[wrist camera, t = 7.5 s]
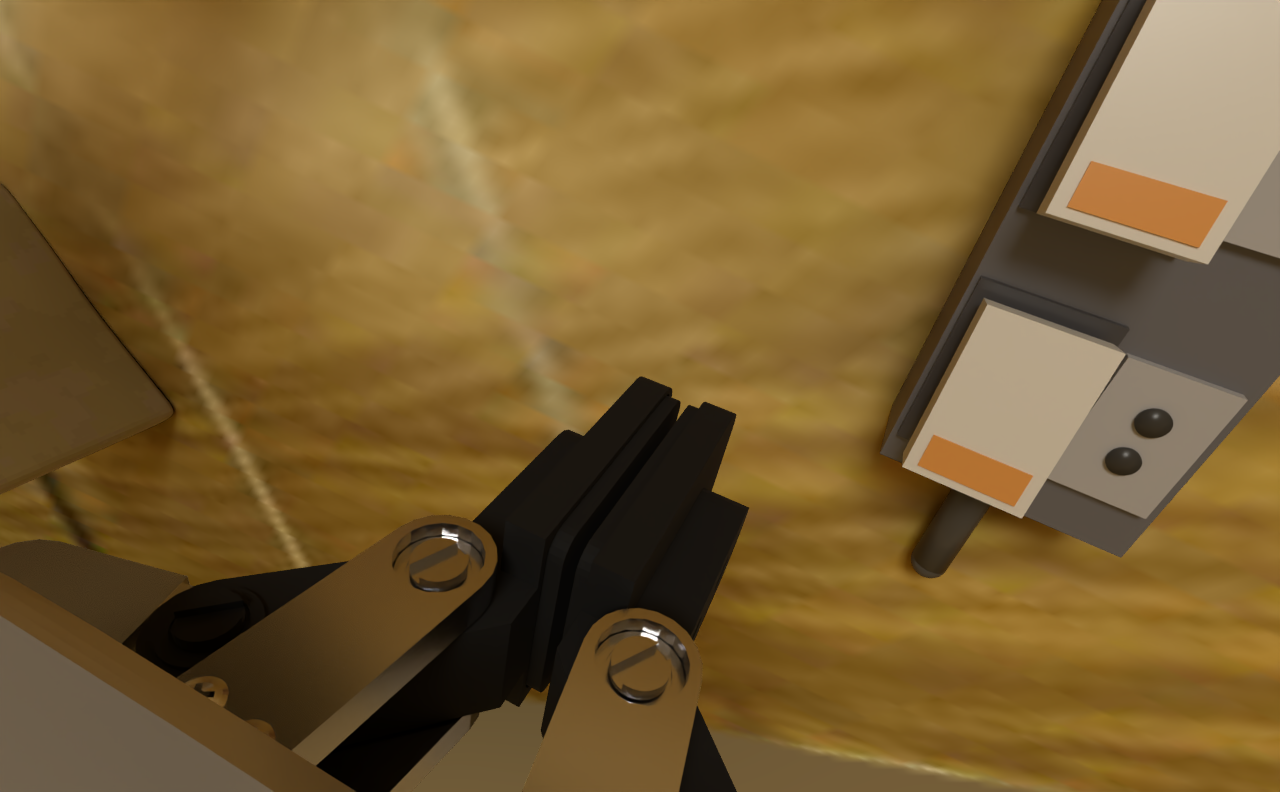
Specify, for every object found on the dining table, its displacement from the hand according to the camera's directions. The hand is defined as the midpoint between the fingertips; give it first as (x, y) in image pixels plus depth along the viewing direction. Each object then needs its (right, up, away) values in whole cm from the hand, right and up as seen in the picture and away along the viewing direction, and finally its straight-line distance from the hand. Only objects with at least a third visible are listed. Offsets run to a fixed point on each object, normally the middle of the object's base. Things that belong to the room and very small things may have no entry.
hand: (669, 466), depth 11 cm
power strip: (+16, +4, +15) cm, 22 cm away
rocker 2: (+13, +8, +6) cm, 17 cm away
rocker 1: (+11, +1, +11) cm, 16 cm away
